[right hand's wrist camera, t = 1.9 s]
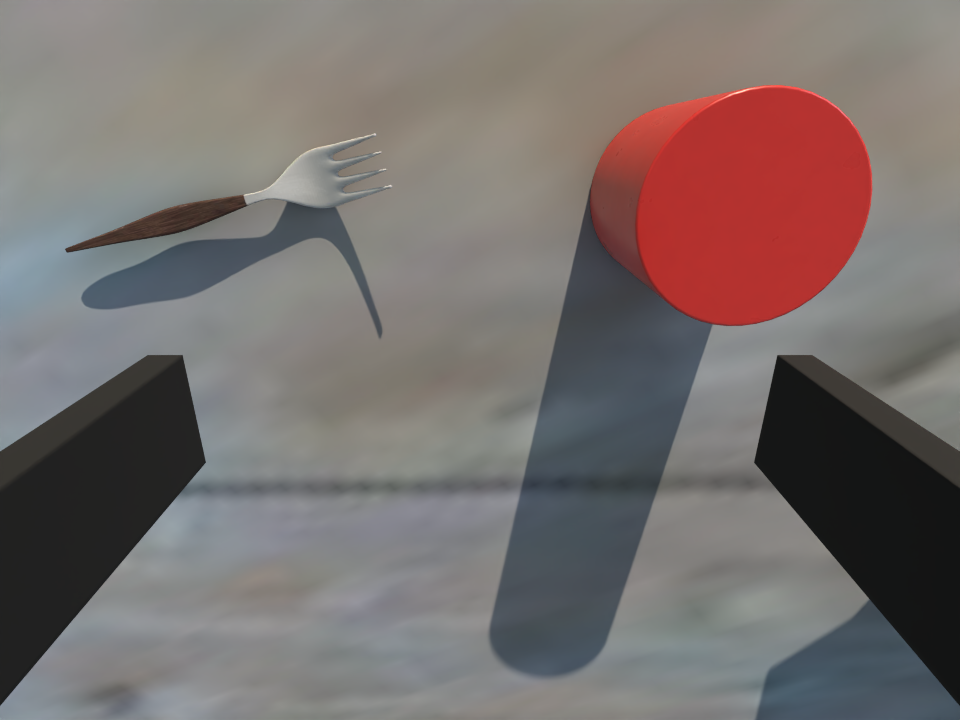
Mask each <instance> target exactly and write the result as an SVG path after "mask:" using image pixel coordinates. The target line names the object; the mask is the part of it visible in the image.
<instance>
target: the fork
mask: <svg viewBox="0 0 960 720" xmlns="http://www.w3.org/2000/svg"><path fill="white" fill-rule="evenodd" d="M375 136H376V134H372V135H369V136H364V137H360V138H356V139H352V140H348V141H344V142H340V143H336V144H332V145H328V146H323V147H318V148H315V149H312V150H309V151H307V152H305V153H304V154H302V155H301V156H299V157H298V158H297V159H296V160H295V161H294V162H293V163H292V164H291V165H290V166H289V167H288V168H287V169H286V170H285V172H284V173H283V174H282V175H281V176H280V177H279V178H278V179H277V180H276V181H275V182H274V183H273V184H272V185H271V186H270V187H268V188H267V189H265V190H262V191H260V192H256V193H251V194H245V195H239V196H232V197H226V198H219V199H212V200H206V201H199V202H193V203H188V204H183V205H178V206H174V207H171V208H167V209H164V210H162V211H159V212H156V213H154V214H151V215H149V216H146V217H144V218H142V219H139V220H137V221H135V222H132V223H130V224H127V225H125V226H123V227H120V228H118V229H115V230H113V231H110V232H108V233H105V234H103V235H100V236H97V237H95V238H92V239H89V240H87V241H84V242H81V243H79V244H76V245H74V246H71V247H68V248H66V249H65V250H66V252H73V251H79V250H84V249H89V248H94V247H99V246H105V245H110V244H116V243H122V242H128V241H134V240H140V239H147V238H153V237H159V236H165V235H170V234H175V233H179V232H182V231H186V230H189V229H191V228H194V227H197V226H199V225H202V224H205V223H207V222H210V221H212V220H214V219H217V218H219V217H222V216H224V215H226V214H229V213H231V212H234V211H236V210H238V209H241V208H243V207H246V206H248V205H251V204H253V203H256V202H259V201H262V200H266V199H278V200H283V201H288V202H292V203H295V204H299V205H303V206H307V207H313V208H332V207H336V206H339V205H342V204H344V203H347V202H350V201H353V200H356V199H359V198H362V197H365V196H368V195H371V194H374V193H377V192H379V191H382V190H385V189H388V188H392V186H391V185H389V186H386V187H380V188H373V189H367V190H362V191H356V192H350V193H346V192H344V191H343V188H344V187H345V186H347V185H349V184H351V183H354V182H357V181H360V180H362V179H365V178H368V177H370V176H373V175H376V174H378V173H381V172H383V171H386V170H387V169H382V170H377V171H371V172H366V173H361V174H356V175H351V176H346V177H340V176H339V175H338V172H339V171H340V170H341V169H343V168H346V167H348V166H351V165H353V164H356V163H359V162H361V161H363V160H366V159H368V158H371V157H373V156H376V155H378V154H380V153H381V152H376V153H371V154H367V155H362V156H357V157H353V158H348V159H344V160H338V161H336V160H333V158H332V156H333V155H334V154H335V153H337V152H339V151H341V150H344V149H346V148H349V147H351V146H354V145H356V144H358V143H360V142H363V141H365V140H367V139H369V138H372V137H375Z"/></svg>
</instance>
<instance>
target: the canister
mask: <svg viewBox="0 0 960 720" xmlns="http://www.w3.org/2000/svg"><path fill="white" fill-rule="evenodd" d="M871 196H872V172H871V166H870V160H869V156H868V153H867V150H866V147H865V144H864V142H863V140H862V138H861V136H860V134H859V132H858V130H857V129H856V127H855V126H854V125H853V123H852V122H851V120H850V119H849V118H848V117H847V116H846V115H845V114H844V113H843V112H842V111H841V110H840V109H839V108H838V107H837V106H835V105H834V104H832V103H831V102H830V101H828V100H827V99H825V98H823V97H821V96H819V95H817V94H815V93H813V92H810V91H807V90H804V89H800V88H797V87H790V86H782V85H768V86H758V87H752V88H746V89H741V90H737V91H732V92H728V93H723V94H719V95H714V96H709V97H705V98H700V99H696V100H691V101H686V102H682V103H677V104H673V105H668V106H664V107H661V108H658V109H654V110H652V111H650V112H648V113H645V114H643V115H642V116H640V117H638V118H637V119H635V120H634V121H632V122H631V123H630V124H628V125H627V126H626V127H625V128H623V129H622V131H621V132H620V133H619V134H618V135H617V136H616V137H615V138H614V139H613V140H612V142H611V143H610V144H609V146H608V147H607V148H606V150H605V152H604V153H603V155H602V157H601V159H600V161H599V163H598V166H597V168H596V171H595V174H594V177H593V181H592V187H591V195H590V208H591V216H592V221H593V225H594V228H595V231H596V234H597V236H598V238H599V240H600V242H601V243H602V245H603V246H604V248H605V249H606V251H607V252H608V253H609V254H610V255H611V256H612V257H613V258H614V259H615V260H616V261H617V262H619V263H620V264H621V265H622V266H624V267H625V268H626V269H627V270H628V271H630V272H631V273H632V274H633V275H634V276H636V277H637V278H638V279H639V280H641V281H642V282H643V283H644V284H645V285H647V286H648V287H649V288H650V289H652V290H653V291H654V292H655V293H656V294H658V295H659V296H660V297H661V298H662V299H664V300H665V301H666V302H667V303H669V304H670V305H671V306H672V307H674V308H675V309H676V310H678V311H680V312H681V313H683V314H685V315H687V316H689V317H691V318H694V319H696V320H699V321H702V322H706V323H710V324H715V325H723V326H743V325H750V324H757V323H760V322H764V321H768V320H772V319H774V318H777V317H779V316H782V315H785V314H787V313H789V312H790V311H792V310H794V309H796V308H798V307H800V306H801V305H803V304H804V303H806V302H807V301H809V300H810V299H812V298H813V297H814V296H816V295H817V294H818V293H819V292H820V291H822V290H823V289H824V288H825V287H826V286H827V285H828V284H829V283H830V282H831V281H832V280H833V279H834V278H835V277H836V276H837V274H838V273H839V272H840V271H841V269H842V268H843V267H844V266H845V264H846V263H847V261H848V260H849V258H850V257H851V255H852V253H853V252H854V250H855V248H856V246H857V244H858V242H859V240H860V238H861V236H862V233H863V230H864V228H865V225H866V222H867V218H868V214H869V210H870V206H871Z"/></svg>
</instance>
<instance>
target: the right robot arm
mask: <svg viewBox="0 0 960 720" xmlns="http://www.w3.org/2000/svg"><path fill="white" fill-rule="evenodd" d="M205 463H206V461H205V457H204V452H203V447H202V443H201V438H200V434H199V429H198V424H197V420H196V415H195V411H194V406H193V401H192V397H191V392H190V388H189V383H188V378H187V374H186V369H185V364H184V360H183V355H147V356H146V357H144V358H143V359H141V360H140V361H138V362H137V363H135V364H134V365H132V366H131V367H129V368H127V369H126V370H124V371H123V372H121V373H120V374H118V375H117V376H115V377H114V378H112V379H111V380H109V381H108V382H106V383H105V384H103V385H101V386H100V387H98V388H97V389H95V390H94V391H92V392H91V393H89V394H88V395H86V396H85V397H83V398H82V399H80V400H79V401H77V402H75V403H74V404H72V405H71V406H69V407H68V408H66V409H65V410H63V411H62V412H60V413H59V414H57V415H56V416H54V417H52V418H51V419H49V420H48V421H46V422H45V423H43V424H42V425H40V426H39V427H37V428H36V429H34V430H33V431H31V432H30V433H28V434H26V435H25V436H23V437H22V438H20V439H19V440H17V441H16V442H14V443H13V444H11V445H10V446H8V447H7V448H5V449H4V450H2V451H0V705H1V704H2V703H3V702H4V701H5V699H6V698H7V697H8V696H9V695H10V693H11V692H12V691H13V690H14V689H15V688H16V686H17V685H18V684H19V683H20V682H21V680H22V679H23V678H24V677H25V676H26V675H27V673H28V672H29V671H30V670H31V669H32V667H33V666H34V665H35V664H36V663H37V661H38V660H39V659H40V658H41V657H42V656H43V654H44V653H45V652H46V651H47V650H48V648H49V647H50V646H51V645H52V644H53V643H54V641H55V640H56V639H57V638H58V637H59V635H60V634H61V633H62V632H63V631H64V630H65V628H66V627H67V626H68V625H69V624H70V622H71V621H72V620H73V619H74V618H75V617H76V615H77V614H78V613H79V612H80V611H81V609H82V608H83V607H84V606H85V605H86V604H87V602H88V601H89V600H90V599H91V598H92V596H93V595H94V594H95V593H96V592H97V591H98V589H99V588H100V587H101V586H102V585H103V583H104V582H105V581H106V580H107V579H108V578H109V576H110V575H111V574H112V573H113V572H114V570H115V569H116V568H117V567H118V566H119V565H120V563H121V562H122V561H123V560H124V559H125V557H126V556H127V555H128V554H129V553H130V551H131V550H132V549H133V548H134V547H135V546H136V544H137V543H138V542H139V541H140V540H141V538H142V537H143V536H144V535H145V534H146V533H147V531H148V530H149V529H150V528H151V527H152V525H153V524H154V523H155V522H156V521H157V520H158V518H159V517H160V516H161V515H162V514H163V512H164V511H165V510H166V509H167V508H168V507H169V505H170V504H171V503H172V502H173V501H174V499H175V498H176V497H177V496H178V495H179V494H180V492H181V491H182V490H183V489H184V488H185V486H186V485H187V484H188V483H189V482H190V481H191V479H192V478H193V477H194V476H195V475H196V473H197V472H198V471H199V470H200V469H201V468H202V466H203V465H204V464H205ZM754 463H755V464H756V465H757V466H758V468H759V469H760V470H761V471H762V472H763V473H764V475H765V476H766V477H767V478H768V479H769V481H770V482H771V483H772V484H773V485H774V486H775V488H776V489H777V490H778V491H779V492H780V494H781V495H782V496H783V497H784V498H785V499H786V501H787V502H788V503H789V504H790V505H791V507H792V508H793V509H794V510H795V511H796V512H797V514H798V515H799V516H800V517H801V518H802V520H803V521H804V522H805V523H806V524H807V525H808V527H809V528H810V529H811V530H812V531H813V533H814V534H815V535H816V536H817V537H818V538H819V540H820V541H821V542H822V543H823V544H824V546H825V547H826V548H827V549H828V550H829V551H830V553H831V554H832V555H833V556H834V557H835V559H836V560H837V561H838V562H839V563H840V565H841V566H842V567H843V568H844V569H845V570H846V572H847V573H848V574H849V575H850V576H851V578H852V579H853V580H854V581H855V582H856V583H857V585H858V586H859V587H860V588H861V589H862V591H863V592H864V593H865V594H866V595H867V596H868V598H869V599H870V600H871V601H872V602H873V604H874V605H875V606H876V607H877V608H878V609H879V611H880V612H881V613H882V614H883V615H884V617H885V618H886V619H887V620H888V621H889V622H890V624H891V625H892V626H893V627H894V628H895V630H896V631H897V632H898V633H899V634H900V635H901V637H902V638H903V639H904V640H905V641H906V643H907V644H908V645H909V646H910V647H911V648H912V650H913V651H914V652H915V653H916V654H917V656H918V657H919V658H920V659H921V660H922V661H923V663H924V664H925V665H926V666H927V667H928V669H929V670H930V671H931V672H932V673H933V675H934V676H935V677H936V678H937V679H938V680H939V682H940V683H941V684H942V685H943V686H944V688H945V689H946V690H947V691H948V692H949V693H950V695H951V696H952V697H953V698H954V699H955V701H956V702H957V703H958V704H959V705H960V451H958V450H956V449H955V448H953V447H952V446H950V445H949V444H947V443H946V442H944V441H943V440H941V439H940V438H938V437H937V436H935V435H934V434H932V433H930V432H929V431H927V430H926V429H924V428H923V427H921V426H920V425H918V424H917V423H915V422H914V421H912V420H911V419H909V418H908V417H906V416H904V415H903V414H901V413H900V412H898V411H897V410H895V409H894V408H892V407H891V406H889V405H888V404H886V403H885V402H883V401H881V400H880V399H878V398H877V397H875V396H874V395H872V394H871V393H869V392H868V391H866V390H865V389H863V388H862V387H860V386H859V385H857V384H855V383H854V382H852V381H851V380H849V379H848V378H846V377H845V376H843V375H842V374H840V373H839V372H837V371H836V370H834V369H833V368H831V367H829V366H828V365H826V364H825V363H823V362H822V361H820V360H819V359H817V358H816V357H814V356H813V355H777V360H776V364H775V369H774V374H773V378H772V383H771V388H770V392H769V397H768V401H767V406H766V411H765V415H764V420H763V424H762V429H761V434H760V438H759V443H758V447H757V452H756V457H755V461H754Z"/></svg>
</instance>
